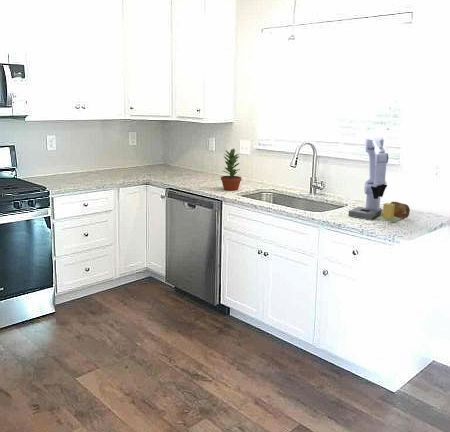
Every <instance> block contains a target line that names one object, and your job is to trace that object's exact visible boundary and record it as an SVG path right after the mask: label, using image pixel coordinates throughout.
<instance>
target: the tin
mask: <svg viewBox="0 0 450 432" xmlns="http://www.w3.org/2000/svg"><path fill="white" fill-rule="evenodd" d="M389 203H390V204H395V208H394V217H399V218H401V219H400V220H402V219H407V218H408V217H410V213H411V209H410V207H409V205H408V204H406V203H402V202H399V201H391V202H389Z"/></svg>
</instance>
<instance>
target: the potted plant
mask: <svg viewBox="0 0 450 432" xmlns="http://www.w3.org/2000/svg"><path fill="white" fill-rule="evenodd" d="M224 151H225V152H226V153H224V155H223V158H224V159H225V160H224V162H225V164H226V166H227V167H224V169H225V170H226V171H225V170H222V172H224V173H226V174H229V175H221V176H220V180H221V183H222V187H223V190H224V191H227V192H235V191H239V189H240V184H241V182H242V176H240V175H239V176H238V175H236V174H237V173H238V171H240V170H241V169H240V168H239V169H236V167H237V166H238V165H239V164H241V163H239V162H238V160H239V159H238V158H240V157H241V155H240V153H236V154H235V152H236V149H235V148H234V147H233V148H232V149H230V151H228V150H225V149H224Z"/></svg>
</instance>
